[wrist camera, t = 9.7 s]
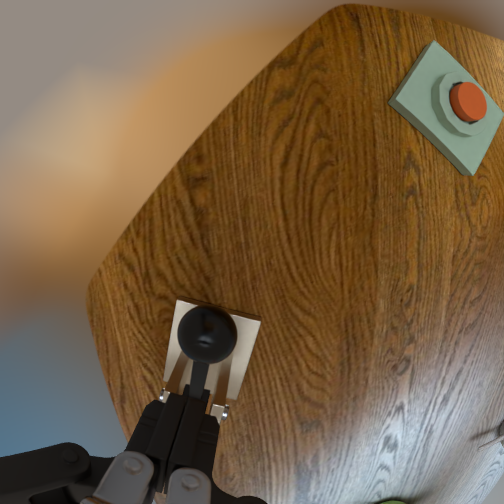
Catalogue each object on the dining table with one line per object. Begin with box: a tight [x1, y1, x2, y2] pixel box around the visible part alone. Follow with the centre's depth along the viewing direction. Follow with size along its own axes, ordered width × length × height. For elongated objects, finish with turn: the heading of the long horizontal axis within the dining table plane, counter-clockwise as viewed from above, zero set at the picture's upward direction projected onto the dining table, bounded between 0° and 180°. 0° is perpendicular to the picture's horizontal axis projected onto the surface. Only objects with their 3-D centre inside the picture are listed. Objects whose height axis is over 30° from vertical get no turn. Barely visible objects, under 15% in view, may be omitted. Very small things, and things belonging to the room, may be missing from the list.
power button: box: [450, 82, 487, 122], centre depth 24 cm, size 4×4×2 cm
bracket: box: [159, 296, 261, 425], centre depth 29 cm, size 11×9×12 cm
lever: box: [177, 304, 238, 414], centre depth 22 cm, size 14×4×4 cm, turn 165°
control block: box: [388, 40, 504, 176], centre depth 26 cm, size 12×10×4 cm
